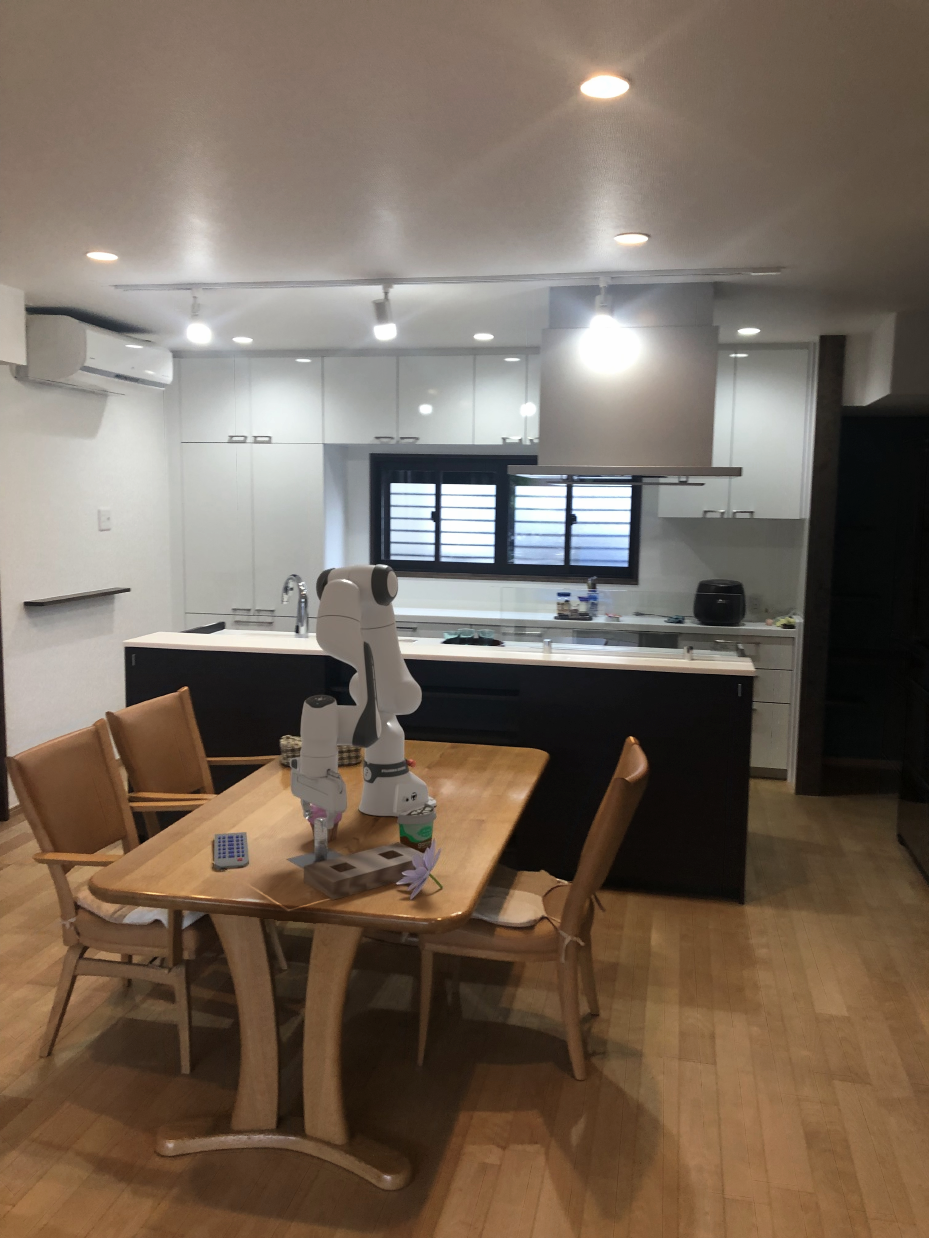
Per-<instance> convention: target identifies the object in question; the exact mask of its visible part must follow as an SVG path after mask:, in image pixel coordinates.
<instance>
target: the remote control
mask: <svg viewBox="0 0 929 1238" xmlns="http://www.w3.org/2000/svg"><path fill="white" fill-rule="evenodd" d="M247 834H248V833H247V831H241V832H228V833H227V832H226V833H214V845H213V846H214V848H213V849H214V852H213V854H214V856H213V859H214V860H213V861H214V864H213V865H214V869H215V870H216V869H217V870H216V871H221V870H223V871H228V869H238V867H243V868H245V867H247V866H248V865H249V864H250V856H249V855H250V854H249V845H248V844H249V843H248V835H247ZM221 872H222V871H221Z"/></svg>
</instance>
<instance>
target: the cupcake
mask: <svg viewBox="0 0 929 1238" xmlns="http://www.w3.org/2000/svg"><path fill="white" fill-rule="evenodd" d="M310 806H311V810H312V811H313V814H312V815H313V817H312V818H309V819H306V820H307V822H308V823H309V824H310V827H311V830H312V836H313V840H315V838H314V820H315V819H316V818H327V815H326V810H324V809H321V808H319V807H317V806H315V805H313V804H310ZM342 818H343V813H338V814H337V815H336V817H335V819H334V826H333V828H332V829H327V843H329V842H331V841H333V840H334V839H336V838H337V836H338V831H339V829H338V828H339V823H340V822H341V821H342Z"/></svg>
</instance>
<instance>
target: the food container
mask: <svg viewBox="0 0 929 1238" xmlns="http://www.w3.org/2000/svg"><path fill="white" fill-rule="evenodd" d="M437 817H438V816H437V813H436V809H435V806H432V805H430V804H426V803H425V804H424V807H423V808H421V809H418V810H413V811H411V812H410V813H408V814H407V815H400V814H399V816H398V817H397V821H396V822H397V824H398V830H399V832H398V833H399V843H401V844H403V845H406V846H408V847H410V848H412V849H415V850H417V851H419V852H421V853H423V854H424V853H425V851H426V849H427V847H428V848H429V849H430V847H431V844H432V842H433V831H434V821H435V820H436V819H437Z"/></svg>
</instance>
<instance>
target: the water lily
mask: <svg viewBox="0 0 929 1238" xmlns="http://www.w3.org/2000/svg"><path fill="white" fill-rule="evenodd" d="M441 851H442V847H440V848H439V849H438V851H437V852H436V838H435V837H434V838H433V839H432V844H431V847H430V849H429V848H428V847H427V849H426V851H425V853H423V854H424V857H423V858H422V856H421V855H419V854H415V856H413V857H412V863H413V865H414V866H415V867H416V868H417V869H416V868H415V869H416V870H407V871H404V872H402V874H404V875H407V877H403V879H401V880H400V881H398V882H395V884H396V885H405V884H411V885H409V886H408V887H407V889H406V891H407V892H408V891H411V890H412V889H413V891H412V892H411V894H410V898H409V899H410V900H413V899H414V897H415V898H416V896H417V895H418V894H419V892H421V891H422V890H421V889H422V888H423V887H424V886H425V884H426V882H427V881H428V878H429V877H430V878H431V879H432V880H433V881H434V882H435V884H436V885H438V887H439V888H440V890H441V889H443V888H444V886H443V884H441V883H440V881H439V880H438V879H437V878H436V877H435V876H434V875H433V874H431V872H432V870H433V869H434V868H435V866H436V864H437V862H438V861H439V858H440V855H441Z"/></svg>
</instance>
